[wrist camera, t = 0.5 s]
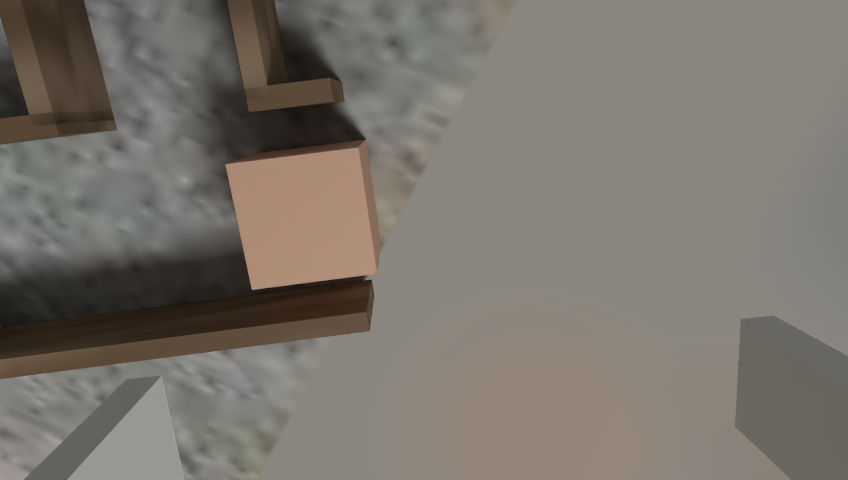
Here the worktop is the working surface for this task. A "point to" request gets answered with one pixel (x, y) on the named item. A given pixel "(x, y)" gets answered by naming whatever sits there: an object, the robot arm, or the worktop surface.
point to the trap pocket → (79, 65)
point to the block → (306, 214)
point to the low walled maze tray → (191, 322)
